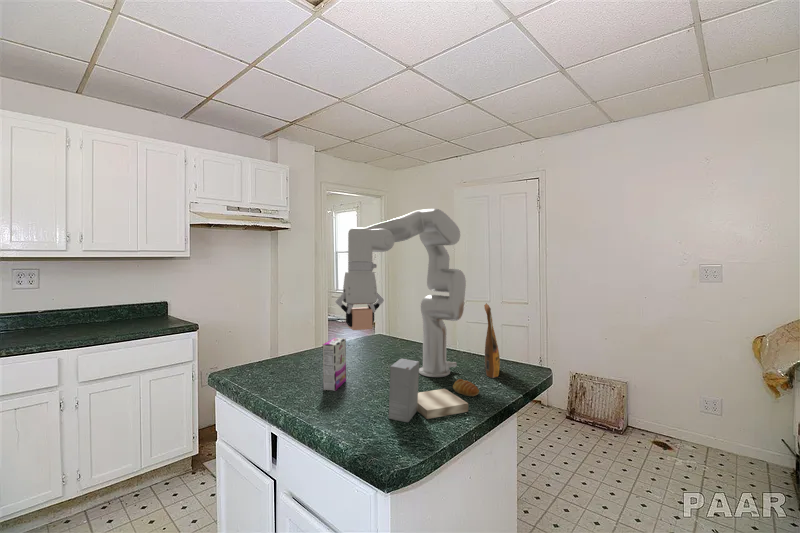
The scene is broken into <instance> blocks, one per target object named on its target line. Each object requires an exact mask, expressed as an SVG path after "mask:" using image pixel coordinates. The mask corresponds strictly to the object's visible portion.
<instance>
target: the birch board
mask: <svg viewBox="0 0 800 533" xmlns="http://www.w3.org/2000/svg"><path fill="white" fill-rule="evenodd" d="M417 412H418V413H419V414H420V415H421V416H423V417H424V418H425V419H426V420H429V419H435V418H440V417H441V418H442V417H446V416H451V415H457V414H463V413H467V412H469V402H467V401H465V400H463V399H462V398H461V397H459V396H458V395H456V394H454V393H453V392H451V391H449V390H448V389H447V388H439V389H433V390H426V391H420V392H419V391H418V402H417Z"/></svg>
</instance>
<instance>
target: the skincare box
mask: <svg viewBox="0 0 800 533" xmlns="http://www.w3.org/2000/svg"><path fill="white" fill-rule="evenodd" d="M389 369H390V370H389V371H390V372H389V395H388V403H389V404H388V419H389V420H395V421H399V422H404V423H409V422H410V421H411V420H412V419H413V417H414V416H415V415H416V414H417V412H418V411H417V402H418V393H419V376H420V373H419V369H420V361H418V360H412V359H406V358H399V359H398V360H397V361H396V362H394V363H392V364H391V365H390V366H389Z"/></svg>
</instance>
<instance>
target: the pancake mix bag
mask: <svg viewBox="0 0 800 533" xmlns="http://www.w3.org/2000/svg"><path fill="white" fill-rule="evenodd" d="M484 310H485V313H486V318H487V329H486V337H485V344H484V365H485V366H484V367H485V373H486V375H485V376H487V377H488V378H492V379H494V378H498V377H499V375H500V367H501V366H500V365H501V361H500V360H501V358H500V357H501V356H500V352H499V345H498V342H497V338H496V333H495V330H494V326H493V324H494V323H493V316H492V315H493V314H492V311H491V310H492V308H491V307H490V305H489V304H488V303H487V302H486V303H485V304H484Z"/></svg>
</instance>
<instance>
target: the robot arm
mask: <svg viewBox="0 0 800 533" xmlns="http://www.w3.org/2000/svg"><path fill="white" fill-rule="evenodd" d="M415 236H419V239H420V241H421V243H422V245H423V246H424V248H425V250H426V252H427V256H428V264H427V266H428V267H427V275H426V286H427V288H428V289H429V290H430V291H431V292H438V293H448V295H442V294H428V295H426V296H424V297H423V298H422V300H421V302H420V311H421V318H422V367H419V375H421V376H425V377H428V378H429V377H430V378H443V377H447V376H449V375H450V374H451V370H450V369H451V368H456V367H457V365H458V364H457V362H456V361H447V326H446V323H445V322H444V320H445V321H452V322H456V321H459V320H460V319H461V318H462V317H463V314H464V309H465V300H466V299H465V298H466V286H467V285H466V282H467V280H466V276H465V273H464V272H463V271H462V270H461V269H458V268H450V255H449V252H448V250H447V249H446V246H454V245H457V243H458V242H459V241H460V239H461V230H460V227H459V226H458V224H457V223H456V222H455V221H454V220H453V219H452V218H451V217H450V216H449V215H448V214H447V213H446V212H444V211H443V210H441V209H439V208H425V209H417V210H413V211H412V212H409V213H407V214H404V215H402V216H398V217H396V218H392V219H390V220H387V221H382V222H379V223H375V224H372V225H369V226H366V227H352V228H350V229H349V230H348V235H347V238H348V240H347V241H348V242H347V246H348V247H347V248H348V249H347V251H348V252H347V253H348V254H347V256H348V257H347V271H345V273H344V278H343V287H342V294H341V295H340V296H339V297H338V298H337V299H336V300H335V304H336V305H337V306H338V307H340V308H341V309H342V310H343V311H344V312H345V323H346V324H347V326H350V327H352V314H351V310H352V308H354V306H355V305H366V306H367V308H370V309H372V326H373V325H374V322H375V312H376V311H377V310H378V308H379V307H380V306H381V305H382V304H383V303H384V301H385V300H384V298H383V297H382V296H381V295H380V294H379V293H378V291H377V290H378V289H377V287H378V286H377V279H376V275H375V272H374V270H375V269H377V266H378V265H377V263H374V262H373V253H376V252H377V253H383V252H388V251H390V250H391V249H393V248H394V245H395V243H400V242H404V241H407V240H408V241H409V239H412V238H413V237H415ZM344 303H345V304H346V305H345V304H344Z"/></svg>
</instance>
